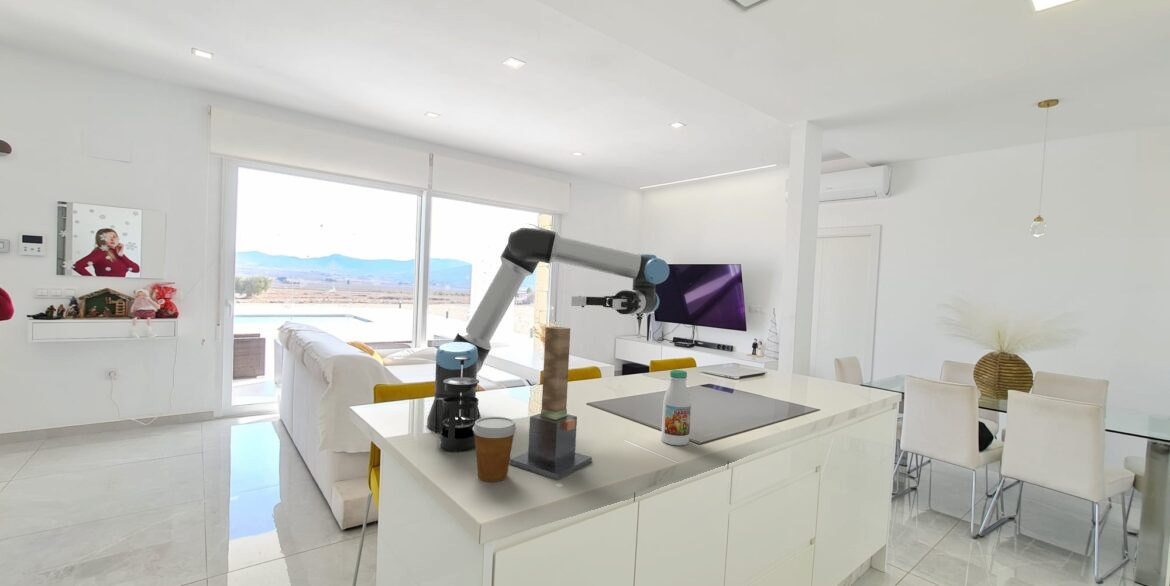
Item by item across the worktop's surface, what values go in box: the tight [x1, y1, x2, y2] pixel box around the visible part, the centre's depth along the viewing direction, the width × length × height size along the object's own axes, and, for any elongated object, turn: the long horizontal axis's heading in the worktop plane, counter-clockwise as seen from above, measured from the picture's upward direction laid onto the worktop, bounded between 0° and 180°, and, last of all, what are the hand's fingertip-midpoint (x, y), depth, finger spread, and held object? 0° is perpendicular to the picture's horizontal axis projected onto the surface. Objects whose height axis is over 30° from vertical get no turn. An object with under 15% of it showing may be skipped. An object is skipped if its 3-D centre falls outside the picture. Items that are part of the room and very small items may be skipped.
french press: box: [434, 356, 480, 453], centre depth 125 cm, size 12×9×23 cm
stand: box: [509, 412, 593, 481], centre depth 117 cm, size 14×14×11 cm
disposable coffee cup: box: [473, 416, 517, 483], centre depth 107 cm, size 10×10×12 cm
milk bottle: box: [660, 369, 692, 446], centre depth 137 cm, size 8×8×20 cm
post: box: [540, 326, 571, 421], centre depth 116 cm, size 4×4×24 cm
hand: (592, 302), depth 135 cm, fingers open, 13 cm apart
